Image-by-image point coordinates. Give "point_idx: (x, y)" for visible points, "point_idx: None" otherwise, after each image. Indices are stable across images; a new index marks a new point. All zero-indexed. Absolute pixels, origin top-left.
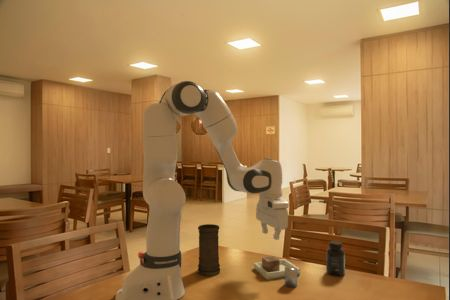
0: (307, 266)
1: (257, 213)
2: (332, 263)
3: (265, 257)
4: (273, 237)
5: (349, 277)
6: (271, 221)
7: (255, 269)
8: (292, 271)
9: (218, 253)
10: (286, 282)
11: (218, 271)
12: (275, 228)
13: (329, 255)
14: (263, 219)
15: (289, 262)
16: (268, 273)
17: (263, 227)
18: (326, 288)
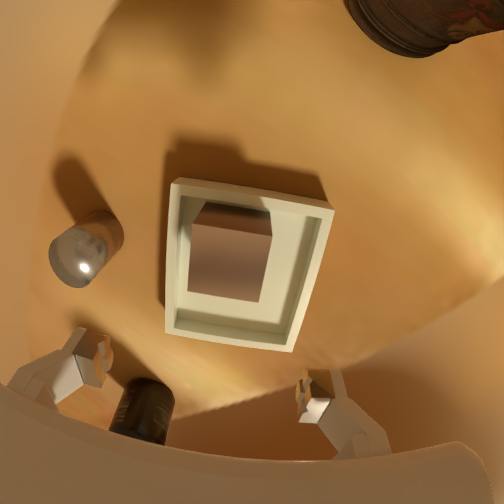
0: (231, 378)
1: (465, 501)
2: (124, 405)
3: (261, 253)
4: (100, 339)
5: (117, 393)
6: (17, 452)
7: (310, 198)
8: (50, 250)
9: (423, 18)
10: (89, 216)
11: (359, 20)
12: (15, 390)
13: (126, 424)
14: (283, 499)
15: (245, 344)
16: (170, 191)
17: (338, 412)
18: (63, 307)
